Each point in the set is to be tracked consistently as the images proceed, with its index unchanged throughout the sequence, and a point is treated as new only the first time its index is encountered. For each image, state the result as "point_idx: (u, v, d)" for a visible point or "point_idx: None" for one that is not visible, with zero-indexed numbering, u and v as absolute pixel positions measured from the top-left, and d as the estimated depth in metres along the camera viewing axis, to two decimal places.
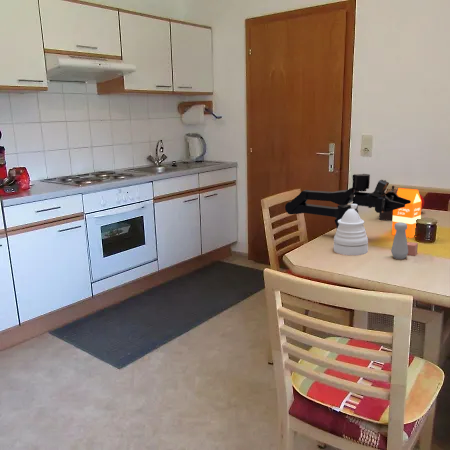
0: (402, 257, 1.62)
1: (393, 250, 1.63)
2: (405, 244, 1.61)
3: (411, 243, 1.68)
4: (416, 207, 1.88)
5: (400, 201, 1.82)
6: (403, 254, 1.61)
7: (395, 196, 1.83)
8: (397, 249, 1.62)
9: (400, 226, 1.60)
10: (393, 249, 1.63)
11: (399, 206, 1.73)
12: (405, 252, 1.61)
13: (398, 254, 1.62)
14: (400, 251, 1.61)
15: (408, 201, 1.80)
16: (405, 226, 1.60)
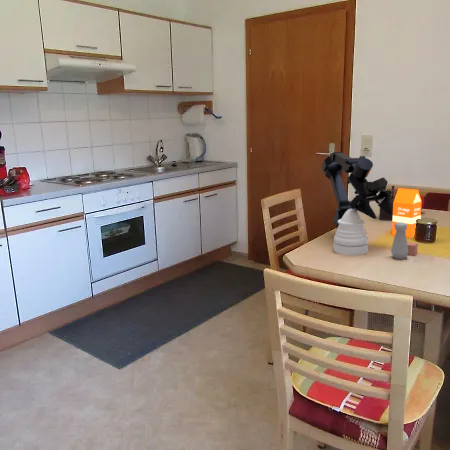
0: (402, 257, 1.62)
1: (393, 250, 1.63)
2: (405, 244, 1.61)
3: (411, 243, 1.68)
4: (416, 207, 1.88)
5: (385, 207, 1.73)
6: (403, 254, 1.61)
7: (385, 199, 1.72)
8: (397, 249, 1.62)
9: (400, 226, 1.60)
10: (393, 249, 1.63)
11: (371, 215, 1.67)
12: (405, 252, 1.61)
13: (398, 254, 1.62)
14: (400, 251, 1.61)
15: (390, 213, 1.71)
16: (405, 226, 1.60)
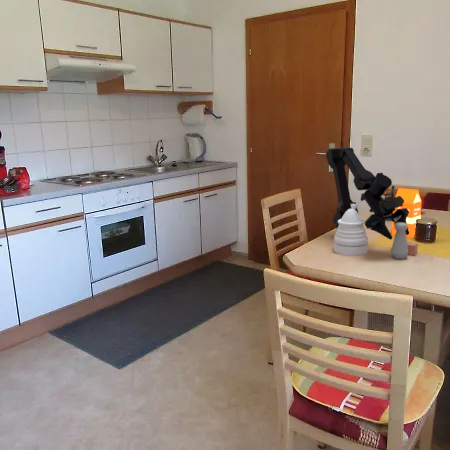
0: (402, 257, 1.62)
1: (393, 250, 1.63)
2: (405, 244, 1.61)
3: (411, 243, 1.68)
4: (416, 207, 1.88)
5: None
6: (403, 254, 1.61)
7: (402, 218, 1.67)
8: (397, 249, 1.62)
9: (400, 226, 1.60)
10: (393, 249, 1.63)
11: (386, 235, 1.61)
12: (405, 252, 1.61)
13: (398, 254, 1.62)
14: (400, 251, 1.61)
15: (406, 232, 1.65)
16: (405, 226, 1.60)
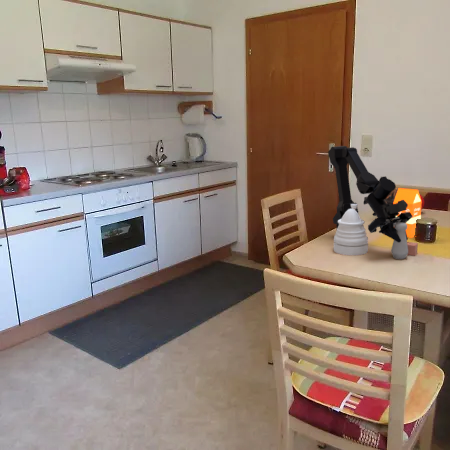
0: (402, 257, 1.62)
1: (393, 250, 1.63)
2: (405, 244, 1.61)
3: (411, 243, 1.68)
4: (416, 207, 1.88)
5: None
6: (403, 254, 1.61)
7: None
8: (397, 249, 1.62)
9: (400, 226, 1.60)
10: (393, 249, 1.63)
11: (395, 238, 1.62)
12: (405, 252, 1.61)
13: (398, 254, 1.62)
14: (400, 251, 1.61)
15: None
16: (405, 226, 1.60)
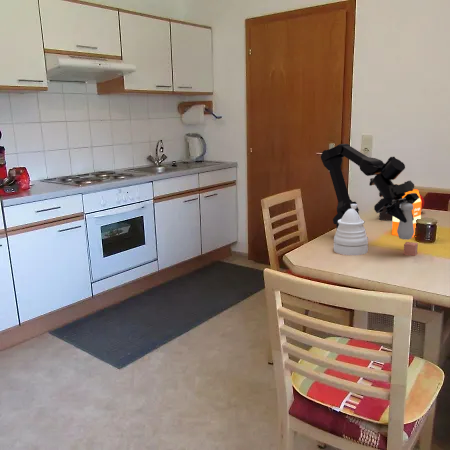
0: (408, 237, 1.63)
1: (399, 230, 1.64)
2: (411, 224, 1.62)
3: (411, 243, 1.68)
4: (416, 207, 1.88)
5: None
6: (409, 234, 1.62)
7: None
8: (403, 229, 1.63)
9: (407, 206, 1.61)
10: (399, 229, 1.64)
11: (401, 218, 1.63)
12: (411, 232, 1.62)
13: (404, 234, 1.63)
14: (405, 232, 1.62)
15: None
16: (411, 206, 1.61)
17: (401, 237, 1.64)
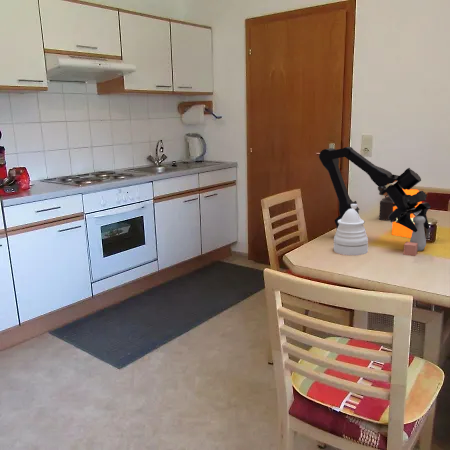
0: (420, 249, 1.71)
1: None
2: (423, 236, 1.70)
3: (411, 243, 1.68)
4: None
5: None
6: (421, 246, 1.70)
7: (422, 213, 1.73)
8: (416, 242, 1.70)
9: (419, 219, 1.68)
10: (412, 241, 1.71)
11: (411, 228, 1.69)
12: (423, 244, 1.70)
13: None
14: (418, 244, 1.70)
15: (427, 226, 1.72)
16: (423, 219, 1.68)
17: None
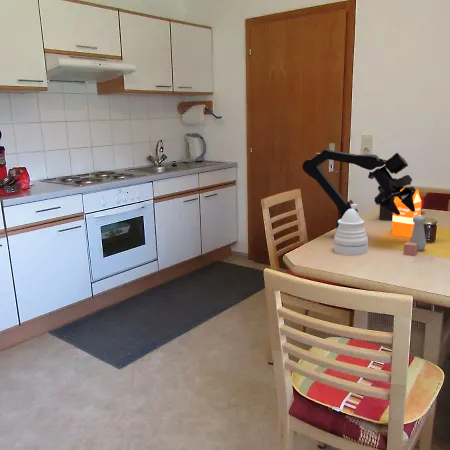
0: (420, 249, 1.71)
1: None
2: (423, 236, 1.70)
3: (411, 243, 1.68)
4: (416, 207, 1.88)
5: (408, 203, 1.79)
6: (421, 246, 1.70)
7: (409, 196, 1.78)
8: (416, 241, 1.70)
9: (419, 219, 1.68)
10: (412, 241, 1.72)
11: (394, 211, 1.73)
12: (423, 244, 1.70)
13: None
14: (418, 244, 1.70)
15: (413, 209, 1.77)
16: (423, 219, 1.69)
17: None
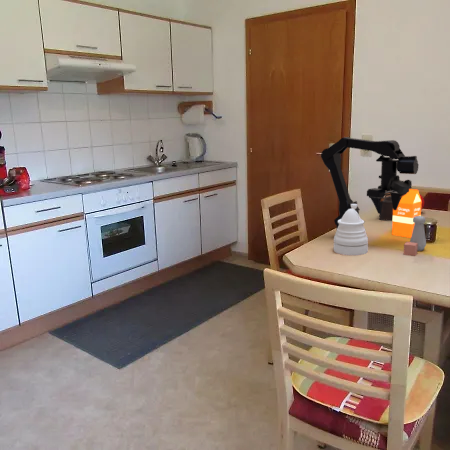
0: (420, 249, 1.71)
1: None
2: (423, 236, 1.70)
3: (411, 243, 1.68)
4: (416, 207, 1.88)
5: (395, 200, 1.82)
6: (421, 246, 1.70)
7: (399, 195, 1.80)
8: (416, 241, 1.70)
9: (419, 219, 1.68)
10: (412, 241, 1.72)
11: (377, 209, 1.77)
12: (423, 244, 1.70)
13: None
14: (418, 244, 1.70)
15: (394, 208, 1.82)
16: (423, 219, 1.69)
17: None
